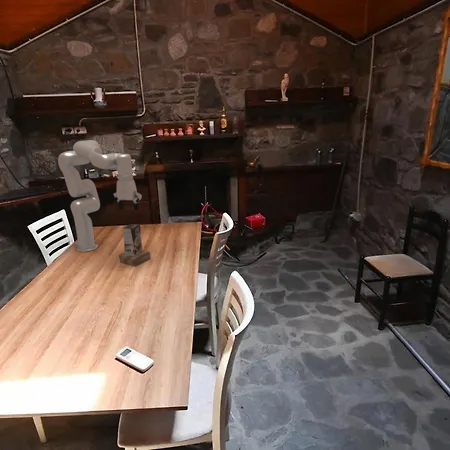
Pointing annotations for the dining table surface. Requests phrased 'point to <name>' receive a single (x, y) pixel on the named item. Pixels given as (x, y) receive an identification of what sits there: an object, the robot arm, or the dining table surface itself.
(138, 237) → the coffee box
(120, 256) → the walnut block
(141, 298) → the dining table surface
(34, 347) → the dining table surface
